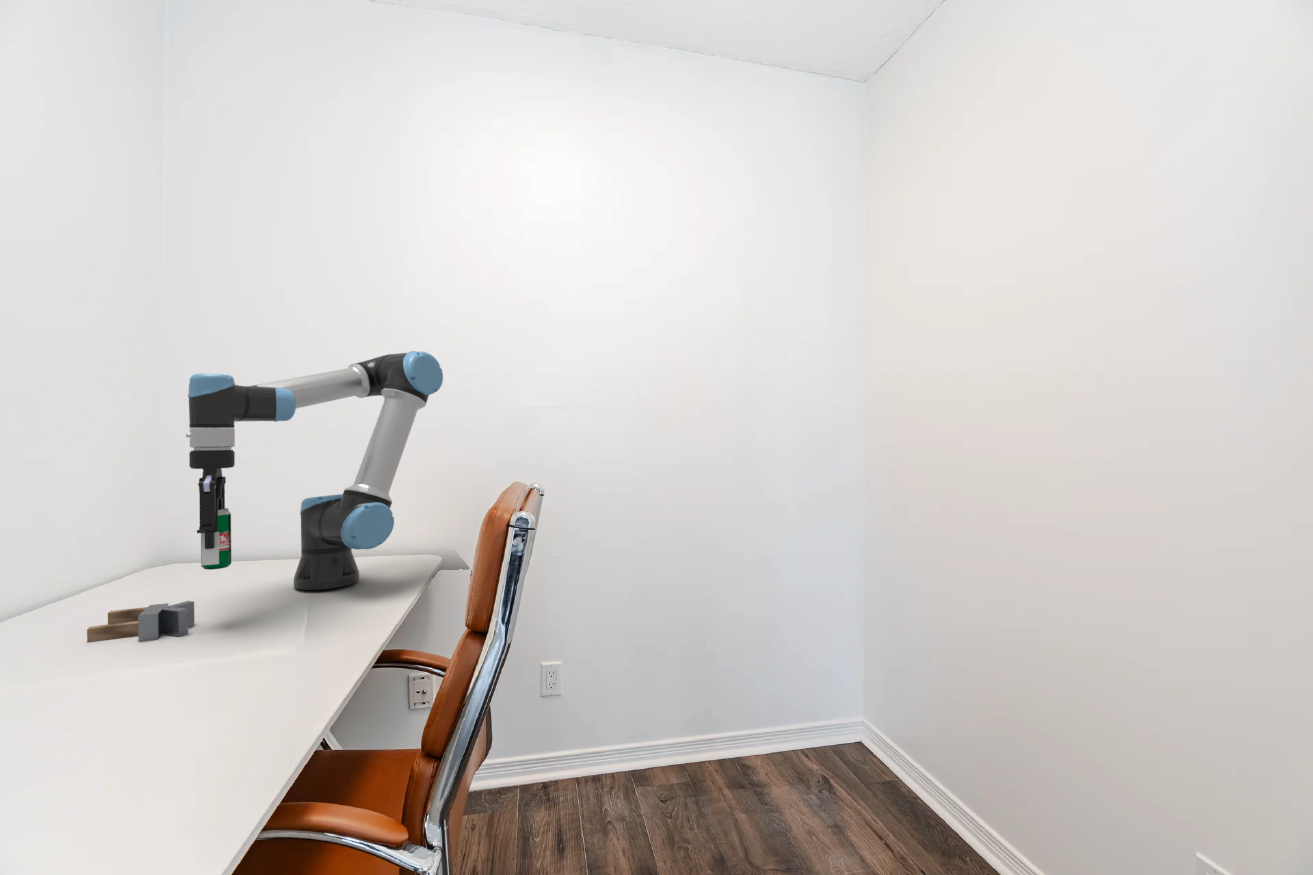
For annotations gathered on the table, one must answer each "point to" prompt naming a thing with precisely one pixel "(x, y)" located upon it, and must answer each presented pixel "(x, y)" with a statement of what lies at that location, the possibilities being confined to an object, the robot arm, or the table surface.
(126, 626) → the channel
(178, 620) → the v block
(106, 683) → the table surface
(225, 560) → the soda can
